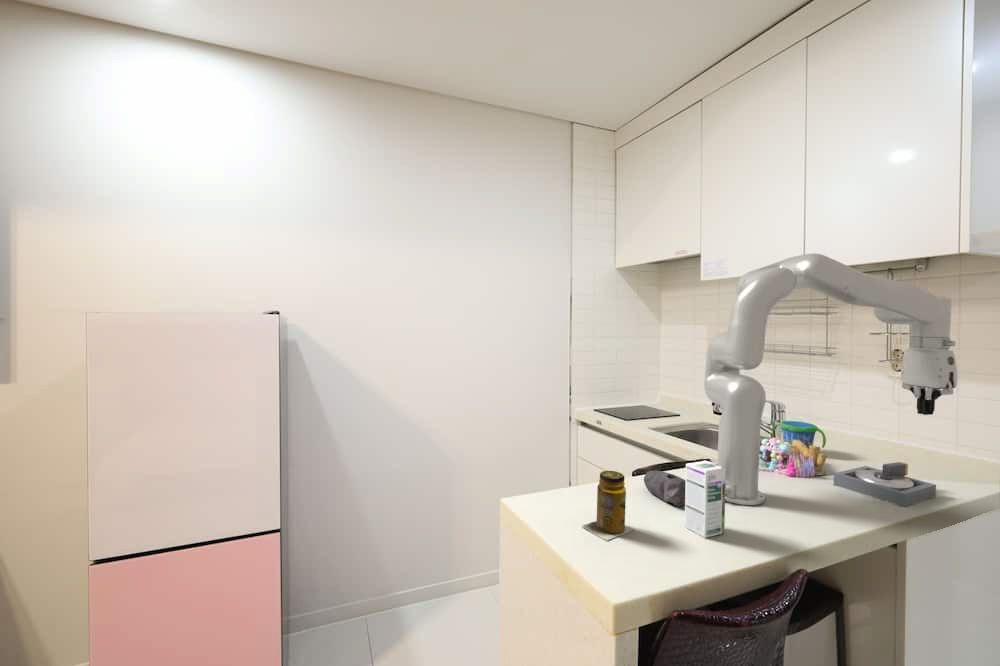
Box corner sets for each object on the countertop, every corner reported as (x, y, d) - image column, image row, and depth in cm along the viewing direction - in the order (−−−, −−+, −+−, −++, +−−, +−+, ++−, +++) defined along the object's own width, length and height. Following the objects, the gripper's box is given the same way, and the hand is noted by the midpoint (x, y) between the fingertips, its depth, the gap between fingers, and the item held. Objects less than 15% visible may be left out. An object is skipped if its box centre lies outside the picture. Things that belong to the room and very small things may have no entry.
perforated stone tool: (637, 489, 120) (637, 464, 119) (652, 487, 122) (653, 462, 121) (678, 513, 106) (679, 484, 106) (695, 509, 108) (696, 481, 108)
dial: (894, 494, 114) (895, 475, 114) (844, 478, 125) (845, 461, 125) (930, 488, 119) (931, 470, 119) (879, 472, 130) (880, 456, 130)
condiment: (633, 530, 97) (635, 476, 96) (606, 541, 92) (608, 484, 91) (607, 517, 103) (608, 466, 102) (581, 527, 98) (582, 473, 97)
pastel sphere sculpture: (795, 455, 153) (796, 428, 153) (842, 480, 130) (844, 449, 129) (720, 452, 155) (721, 426, 155) (753, 477, 132) (754, 446, 131)
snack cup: (766, 450, 158) (767, 421, 157) (778, 445, 164) (779, 417, 164) (818, 462, 146) (819, 431, 145) (829, 456, 152) (830, 426, 152)
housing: (904, 506, 111) (905, 493, 111) (833, 484, 126) (834, 472, 126) (935, 496, 118) (936, 484, 118) (864, 476, 132) (865, 465, 132)
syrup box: (705, 539, 93) (707, 470, 93) (683, 526, 99) (685, 462, 98) (724, 534, 96) (727, 467, 95) (702, 522, 101) (704, 459, 100)
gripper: (975, 346, 110) (971, 420, 111) (906, 342, 124) (903, 407, 125) (954, 346, 108) (950, 421, 109) (886, 342, 122) (883, 408, 123)
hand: (925, 413), depth 117 cm, fingers closed
